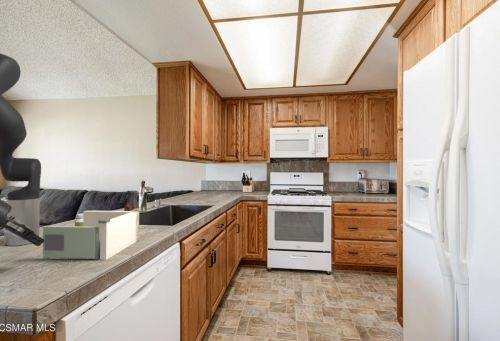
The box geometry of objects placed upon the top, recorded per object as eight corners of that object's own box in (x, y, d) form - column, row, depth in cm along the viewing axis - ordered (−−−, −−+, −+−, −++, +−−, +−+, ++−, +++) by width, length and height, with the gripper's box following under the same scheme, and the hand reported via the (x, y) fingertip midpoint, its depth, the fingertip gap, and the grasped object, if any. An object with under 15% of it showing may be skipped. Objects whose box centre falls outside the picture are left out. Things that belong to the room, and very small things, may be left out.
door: (41, 258, 75) (42, 227, 75) (45, 256, 76) (45, 226, 76) (96, 258, 75) (96, 227, 75) (99, 257, 76) (99, 226, 76)
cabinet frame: (38, 259, 75) (38, 219, 75) (86, 239, 97) (86, 208, 97) (105, 260, 75) (105, 220, 75) (138, 240, 96) (138, 209, 96)
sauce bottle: (132, 237, 101) (133, 191, 101) (119, 236, 102) (120, 190, 102) (142, 233, 107) (142, 190, 107) (130, 232, 108) (130, 189, 108)
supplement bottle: (89, 233, 105) (90, 212, 105) (89, 236, 101) (89, 214, 101) (75, 235, 102) (75, 213, 102) (74, 238, 98) (74, 215, 98)
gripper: (2, 197, 58) (61, 235, 68) (-13, 194, 64) (43, 229, 75) (-31, 222, 53) (38, 259, 64) (-44, 216, 60) (21, 250, 70)
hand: (41, 243), depth 69 cm, fingers closed
